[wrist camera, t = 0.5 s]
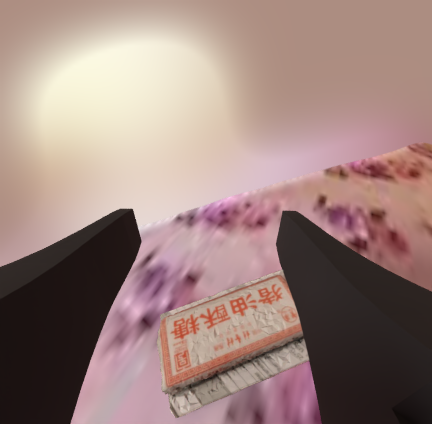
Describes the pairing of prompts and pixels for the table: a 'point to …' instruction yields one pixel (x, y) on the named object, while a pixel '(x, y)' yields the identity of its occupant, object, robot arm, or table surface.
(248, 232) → the table surface
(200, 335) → the packaged product
